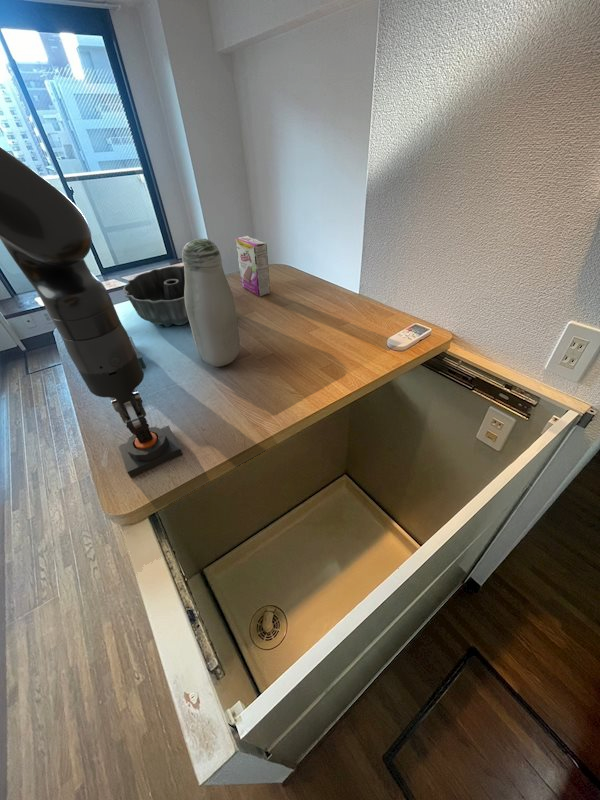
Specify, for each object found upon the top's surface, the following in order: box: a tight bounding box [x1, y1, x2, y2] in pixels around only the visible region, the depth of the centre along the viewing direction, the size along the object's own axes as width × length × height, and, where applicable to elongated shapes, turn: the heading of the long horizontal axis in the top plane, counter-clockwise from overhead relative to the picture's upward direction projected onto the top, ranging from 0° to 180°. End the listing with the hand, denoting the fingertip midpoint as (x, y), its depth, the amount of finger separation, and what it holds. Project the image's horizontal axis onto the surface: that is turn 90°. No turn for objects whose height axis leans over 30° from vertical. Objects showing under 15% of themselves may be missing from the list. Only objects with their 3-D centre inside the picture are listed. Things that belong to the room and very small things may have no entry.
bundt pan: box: [122, 265, 189, 327], centre depth 98 cm, size 26×26×10 cm
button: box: [135, 432, 158, 450], centre depth 57 cm, size 4×4×2 cm
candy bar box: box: [235, 235, 271, 298], centre depth 108 cm, size 11×5×16 cm, turn 40°
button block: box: [118, 425, 183, 479], centre depth 58 cm, size 9×7×4 cm
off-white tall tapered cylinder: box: [181, 238, 241, 368], centre depth 72 cm, size 10×10×28 cm
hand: (146, 439), depth 57 cm, fingers closed
